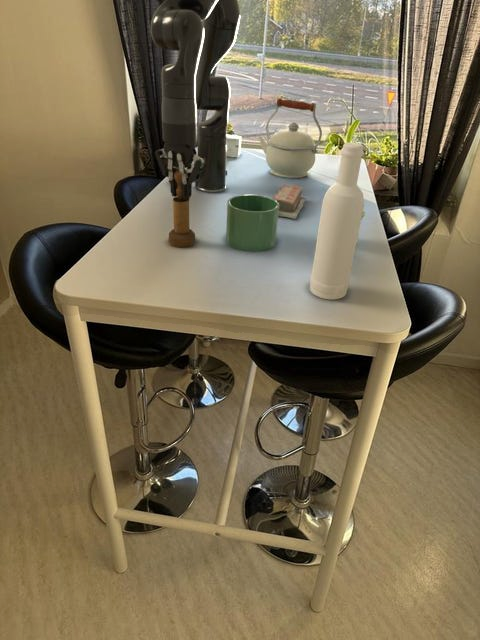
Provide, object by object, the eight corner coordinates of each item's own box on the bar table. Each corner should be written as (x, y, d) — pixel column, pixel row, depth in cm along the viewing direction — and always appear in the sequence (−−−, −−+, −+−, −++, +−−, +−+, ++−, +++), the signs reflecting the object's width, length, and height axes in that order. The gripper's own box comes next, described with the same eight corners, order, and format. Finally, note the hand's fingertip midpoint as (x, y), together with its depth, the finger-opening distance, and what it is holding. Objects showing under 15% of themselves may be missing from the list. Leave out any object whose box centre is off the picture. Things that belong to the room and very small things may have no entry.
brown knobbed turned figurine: (174, 249, 112) (171, 174, 102) (165, 239, 116) (161, 167, 106) (199, 245, 114) (199, 172, 104) (189, 235, 119) (188, 164, 109)
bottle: (353, 298, 96) (385, 149, 79) (318, 302, 94) (344, 150, 77) (336, 280, 102) (362, 139, 86) (303, 283, 100) (323, 139, 84)
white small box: (223, 156, 188) (224, 137, 184) (226, 152, 193) (227, 134, 189) (238, 157, 188) (239, 138, 184) (240, 154, 193) (241, 135, 189)
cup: (216, 242, 116) (217, 203, 111) (243, 227, 126) (245, 191, 120) (259, 255, 111) (262, 216, 105) (284, 239, 120) (288, 202, 115)
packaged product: (277, 181, 146) (308, 186, 144) (276, 196, 149) (306, 201, 147) (263, 198, 132) (297, 203, 129) (262, 214, 134) (295, 220, 132)
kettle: (325, 173, 175) (335, 102, 161) (304, 184, 162) (313, 107, 148) (268, 161, 186) (273, 93, 172) (244, 171, 172) (248, 98, 159)
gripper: (215, 121, 99) (214, 199, 109) (166, 112, 105) (168, 187, 115) (194, 126, 94) (194, 208, 103) (143, 116, 100) (148, 194, 109)
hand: (181, 196), depth 109 cm, fingers closed on brown knobbed turned figurine, 2 cm apart
